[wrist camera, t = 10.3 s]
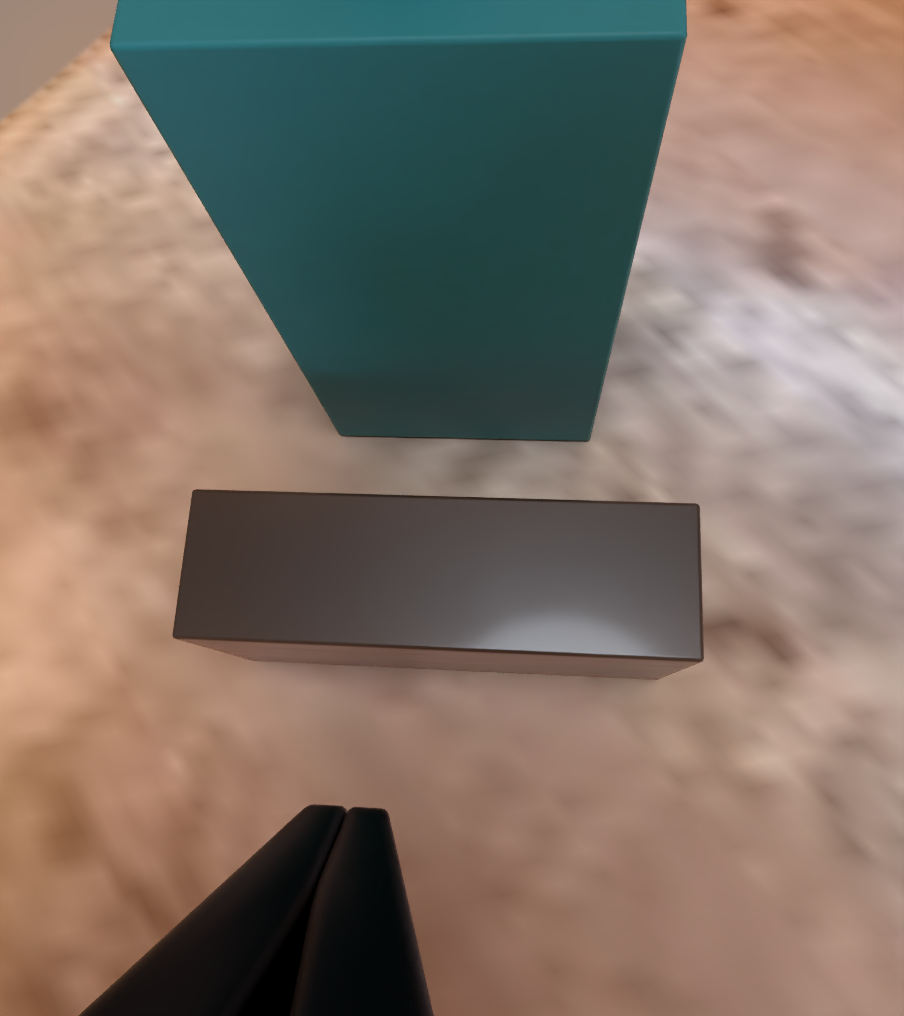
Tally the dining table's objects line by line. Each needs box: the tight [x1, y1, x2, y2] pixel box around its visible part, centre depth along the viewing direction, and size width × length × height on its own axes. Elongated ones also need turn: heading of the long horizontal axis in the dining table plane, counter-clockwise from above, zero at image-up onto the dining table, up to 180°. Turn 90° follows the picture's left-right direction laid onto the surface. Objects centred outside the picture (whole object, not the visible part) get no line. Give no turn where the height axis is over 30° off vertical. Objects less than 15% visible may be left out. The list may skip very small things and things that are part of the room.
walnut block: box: [173, 489, 704, 680], centre depth 18 cm, size 3×10×5 cm, turn 87°
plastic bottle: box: [110, 0, 687, 441], centre depth 16 cm, size 10×7×14 cm, turn 177°
